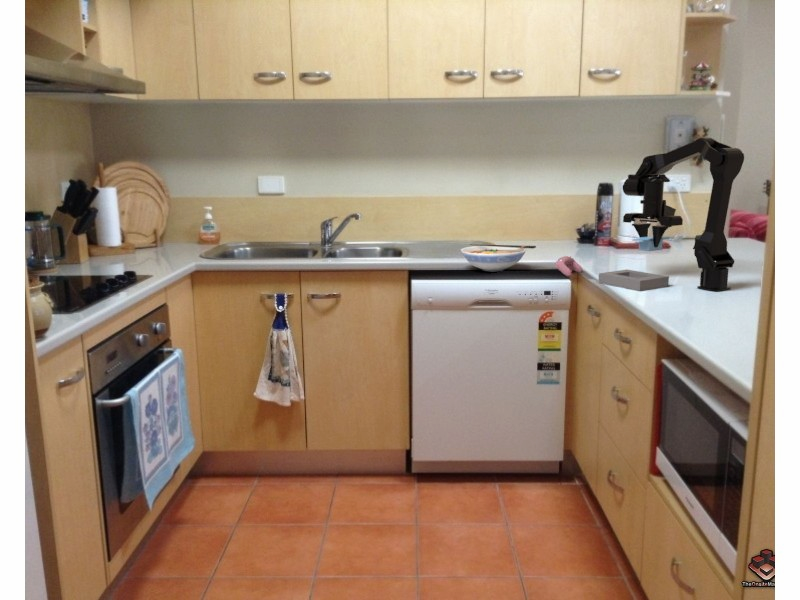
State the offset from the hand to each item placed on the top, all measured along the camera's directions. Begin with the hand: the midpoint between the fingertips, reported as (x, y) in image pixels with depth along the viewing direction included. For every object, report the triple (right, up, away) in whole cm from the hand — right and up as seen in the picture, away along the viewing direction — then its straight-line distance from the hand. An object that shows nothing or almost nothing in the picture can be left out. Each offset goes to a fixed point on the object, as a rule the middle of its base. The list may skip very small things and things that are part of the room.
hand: (650, 246), depth 210 cm
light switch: (-9, -12, -10) cm, 18 cm away
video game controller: (-23, -8, +12) cm, 27 cm away
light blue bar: (0, -1, 0) cm, 1 cm away
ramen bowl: (-47, -7, +23) cm, 52 cm away
